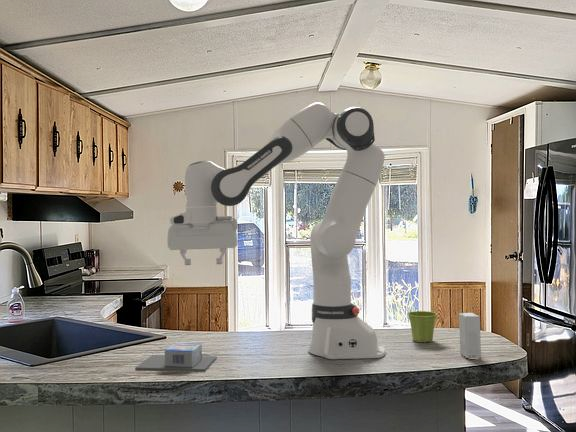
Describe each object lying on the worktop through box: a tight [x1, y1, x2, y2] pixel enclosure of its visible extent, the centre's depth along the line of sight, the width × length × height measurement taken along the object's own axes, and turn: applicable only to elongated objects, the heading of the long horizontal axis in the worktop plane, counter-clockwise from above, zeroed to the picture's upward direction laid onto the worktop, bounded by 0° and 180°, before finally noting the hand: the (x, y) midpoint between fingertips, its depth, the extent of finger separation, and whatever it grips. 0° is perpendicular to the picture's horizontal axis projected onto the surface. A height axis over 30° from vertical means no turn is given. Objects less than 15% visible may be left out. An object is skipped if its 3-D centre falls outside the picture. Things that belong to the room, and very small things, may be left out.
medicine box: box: [164, 342, 203, 367], centre depth 159 cm, size 8×4×9 cm
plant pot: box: [406, 310, 438, 343], centre depth 185 cm, size 9×9×9 cm
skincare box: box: [458, 312, 482, 359], centre depth 165 cm, size 6×4×12 cm
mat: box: [134, 354, 218, 372], centre depth 160 cm, size 19×13×1 cm
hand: (203, 264), depth 169 cm, fingers open, 8 cm apart
